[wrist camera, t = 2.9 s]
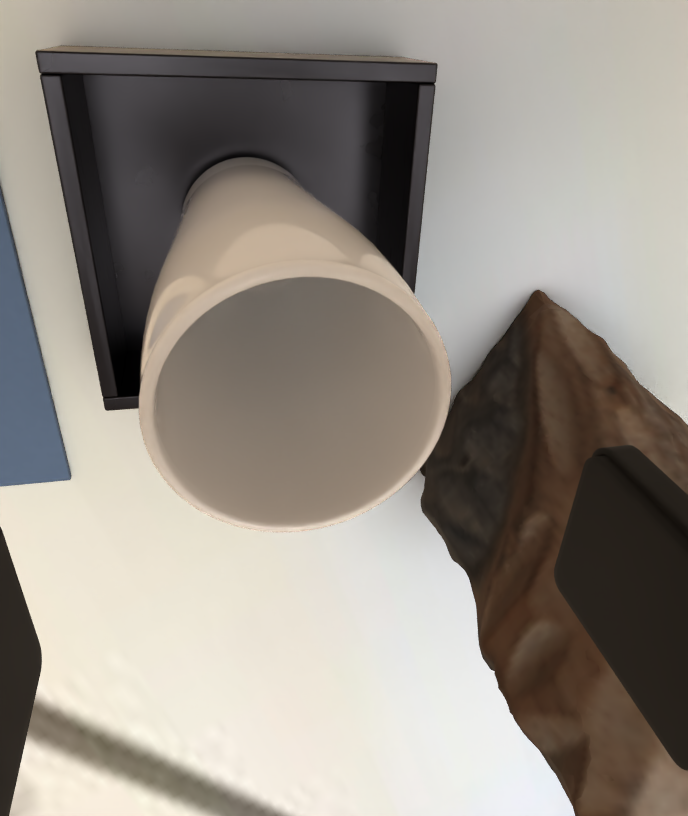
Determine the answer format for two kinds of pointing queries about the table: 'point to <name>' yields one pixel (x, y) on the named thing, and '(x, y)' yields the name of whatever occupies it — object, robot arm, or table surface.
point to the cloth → (24, 383)
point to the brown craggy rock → (552, 547)
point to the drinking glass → (284, 359)
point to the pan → (221, 159)
